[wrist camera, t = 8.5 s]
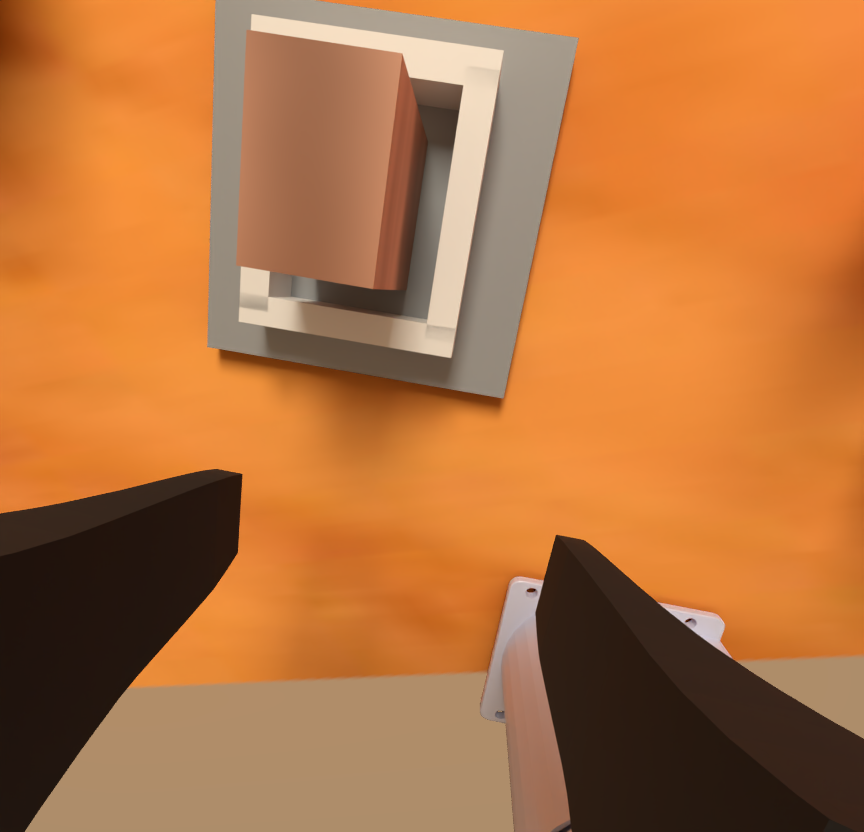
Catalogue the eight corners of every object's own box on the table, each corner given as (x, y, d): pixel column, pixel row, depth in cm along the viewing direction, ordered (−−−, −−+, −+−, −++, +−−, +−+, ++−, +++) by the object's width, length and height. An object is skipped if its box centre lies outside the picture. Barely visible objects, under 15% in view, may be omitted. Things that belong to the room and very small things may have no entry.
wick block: (427, 141, 16) (402, 53, 10) (406, 290, 17) (372, 288, 11) (328, 126, 16) (246, 29, 10) (315, 275, 17) (236, 265, 11)
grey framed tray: (573, 50, 15) (595, -1, 13) (502, 394, 19) (507, 411, 16) (228, 1, 16) (178, -59, 13) (218, 344, 19) (176, 353, 16)
